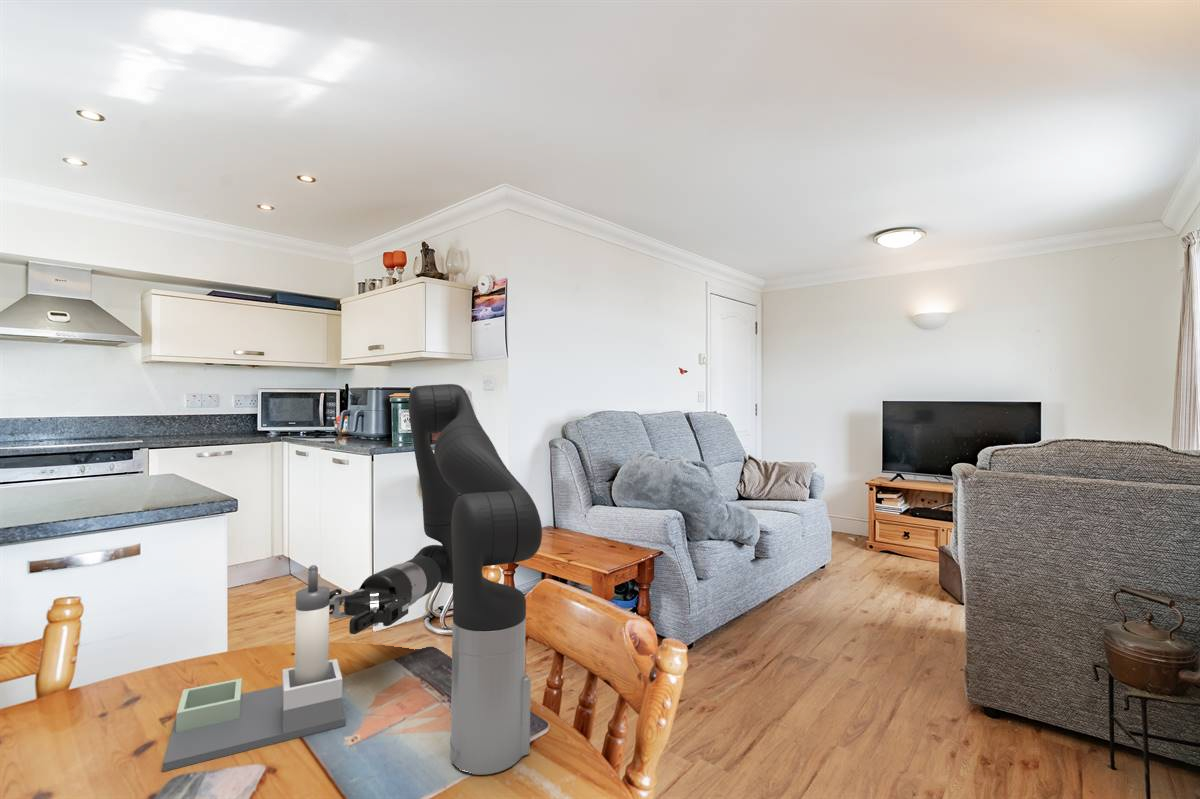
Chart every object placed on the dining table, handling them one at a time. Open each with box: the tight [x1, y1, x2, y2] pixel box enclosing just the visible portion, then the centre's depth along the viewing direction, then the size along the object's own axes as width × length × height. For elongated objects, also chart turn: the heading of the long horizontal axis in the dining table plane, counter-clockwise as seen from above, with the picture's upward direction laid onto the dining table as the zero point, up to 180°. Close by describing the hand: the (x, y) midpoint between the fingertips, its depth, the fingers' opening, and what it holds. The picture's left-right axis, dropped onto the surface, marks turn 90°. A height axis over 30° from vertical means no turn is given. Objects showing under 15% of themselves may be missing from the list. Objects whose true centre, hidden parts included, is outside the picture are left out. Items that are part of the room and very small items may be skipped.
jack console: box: [162, 658, 347, 773], centre depth 79 cm, size 20×14×6 cm
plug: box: [294, 564, 331, 687], centre depth 79 cm, size 4×4×18 cm
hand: (326, 624), depth 81 cm, fingers open, 8 cm apart
